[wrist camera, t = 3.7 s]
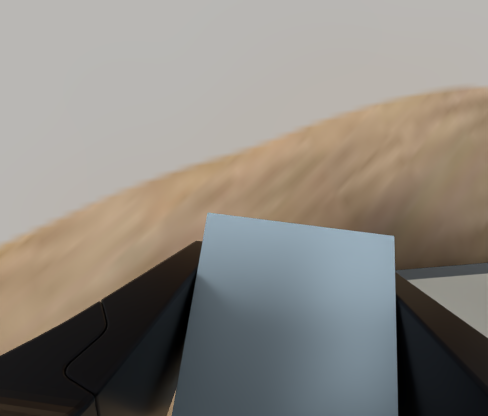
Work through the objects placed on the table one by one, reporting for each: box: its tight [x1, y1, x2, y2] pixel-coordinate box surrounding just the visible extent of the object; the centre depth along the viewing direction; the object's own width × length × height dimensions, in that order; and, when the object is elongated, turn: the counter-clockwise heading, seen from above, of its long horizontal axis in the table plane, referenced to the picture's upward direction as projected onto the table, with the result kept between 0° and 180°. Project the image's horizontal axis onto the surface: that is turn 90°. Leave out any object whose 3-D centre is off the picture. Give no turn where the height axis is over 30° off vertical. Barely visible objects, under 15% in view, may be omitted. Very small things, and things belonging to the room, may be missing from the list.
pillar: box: [172, 213, 398, 416], centre depth 11 cm, size 4×4×10 cm
